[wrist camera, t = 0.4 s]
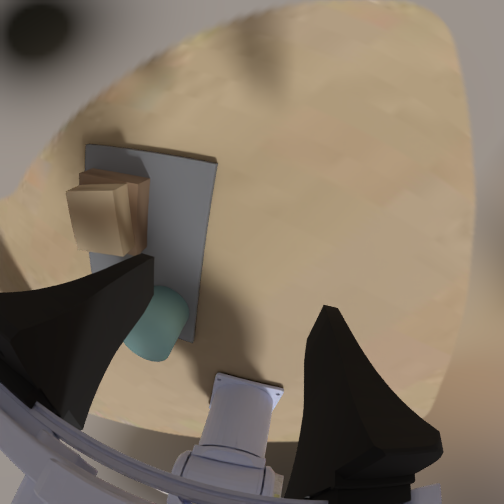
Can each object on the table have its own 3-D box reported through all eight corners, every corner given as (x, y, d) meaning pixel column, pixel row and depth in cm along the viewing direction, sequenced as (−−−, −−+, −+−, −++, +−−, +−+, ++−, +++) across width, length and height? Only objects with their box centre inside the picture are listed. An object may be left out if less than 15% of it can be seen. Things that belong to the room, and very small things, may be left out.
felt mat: (193, 340, 27) (192, 343, 27) (99, 304, 28) (97, 306, 27) (217, 163, 18) (216, 164, 18) (88, 143, 19) (85, 144, 19)
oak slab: (135, 245, 20) (123, 256, 19) (90, 240, 21) (77, 249, 19) (127, 183, 18) (112, 190, 16) (80, 184, 18) (65, 191, 17)
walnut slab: (147, 246, 22) (136, 256, 21) (94, 230, 22) (82, 238, 21) (150, 178, 19) (138, 184, 18) (92, 168, 20) (79, 173, 18)
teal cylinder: (188, 331, 26) (169, 368, 22) (145, 316, 26) (122, 349, 22) (190, 294, 24) (169, 332, 19) (143, 279, 24) (115, 312, 20)
